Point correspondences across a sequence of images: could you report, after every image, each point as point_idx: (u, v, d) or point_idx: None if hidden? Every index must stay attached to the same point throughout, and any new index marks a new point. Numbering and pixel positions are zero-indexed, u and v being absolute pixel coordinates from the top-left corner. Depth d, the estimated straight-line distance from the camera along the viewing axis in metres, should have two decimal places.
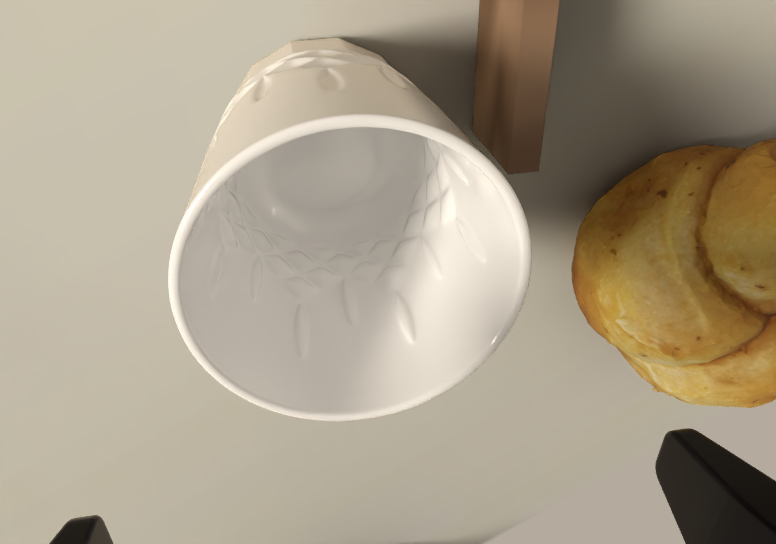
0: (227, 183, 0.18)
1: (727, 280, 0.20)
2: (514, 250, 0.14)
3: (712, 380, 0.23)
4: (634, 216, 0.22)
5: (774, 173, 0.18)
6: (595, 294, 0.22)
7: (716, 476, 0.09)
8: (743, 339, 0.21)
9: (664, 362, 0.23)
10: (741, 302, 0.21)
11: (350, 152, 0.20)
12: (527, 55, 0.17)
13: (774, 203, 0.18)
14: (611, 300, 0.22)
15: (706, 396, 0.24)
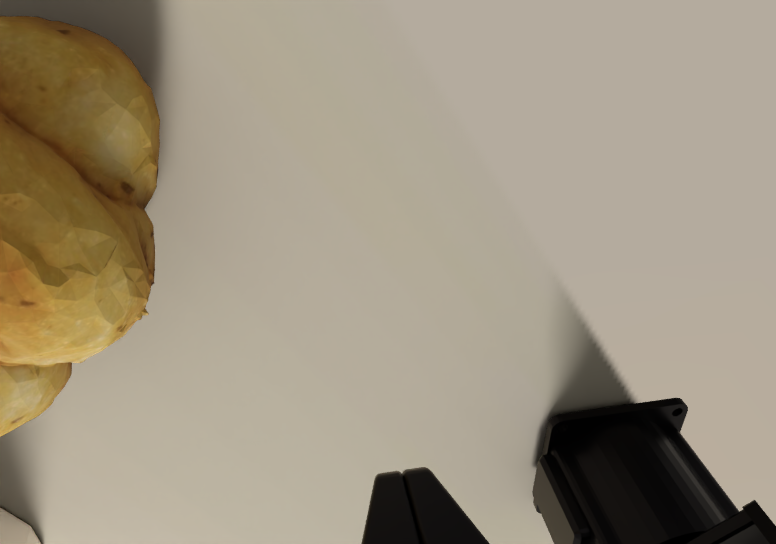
0: None
1: None
2: None
3: (16, 358, 0.14)
4: None
5: None
6: None
7: (421, 523, 0.08)
8: None
9: (15, 403, 0.15)
10: None
11: None
12: None
13: None
14: None
15: (59, 346, 0.14)
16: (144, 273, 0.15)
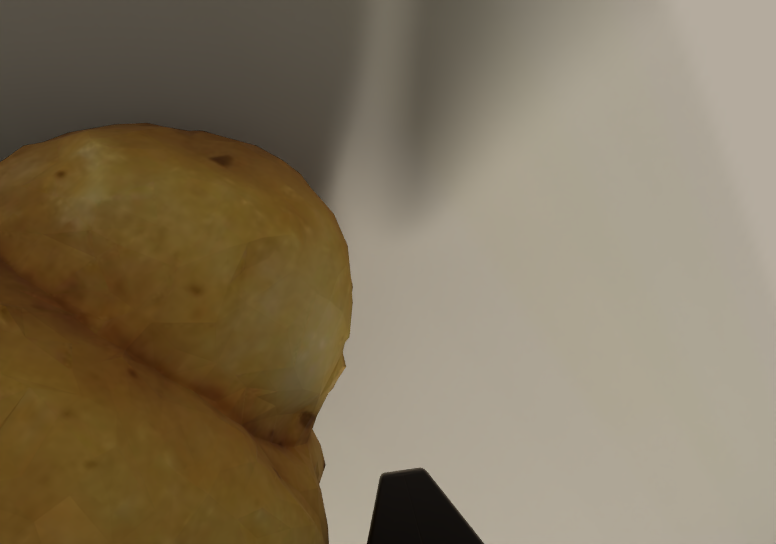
0: None
1: None
2: None
3: None
4: None
5: None
6: None
7: (416, 524, 0.08)
8: None
9: None
10: None
11: None
12: None
13: None
14: None
15: None
16: None
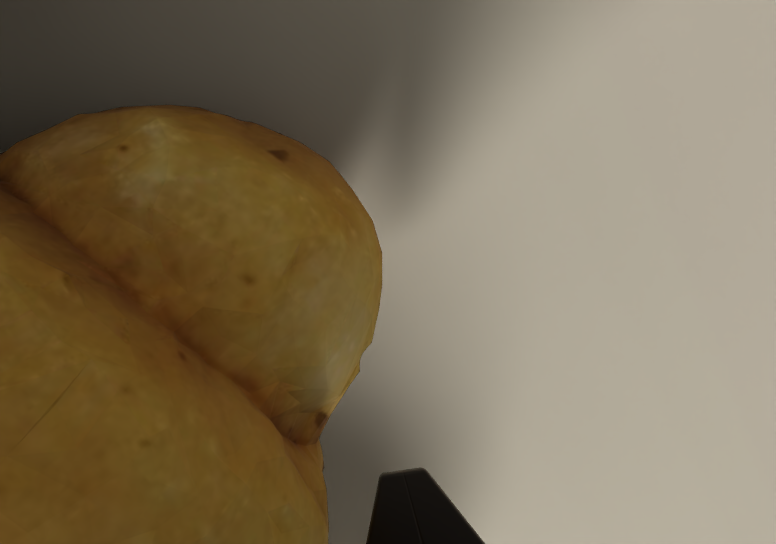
0: None
1: None
2: None
3: None
4: None
5: None
6: None
7: (417, 524, 0.08)
8: None
9: None
10: None
11: None
12: None
13: None
14: None
15: None
16: None
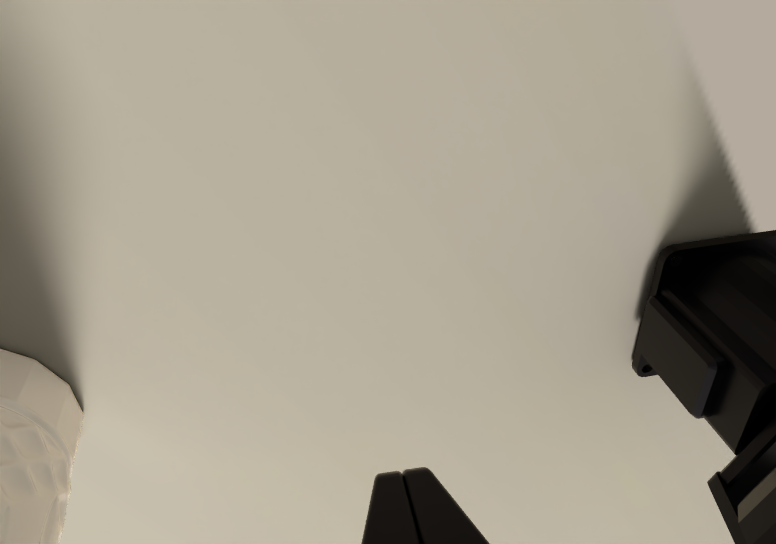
0: None
1: None
2: None
3: None
4: None
5: None
6: None
7: (421, 523, 0.08)
8: None
9: None
10: None
11: None
12: None
13: None
14: None
15: None
16: None
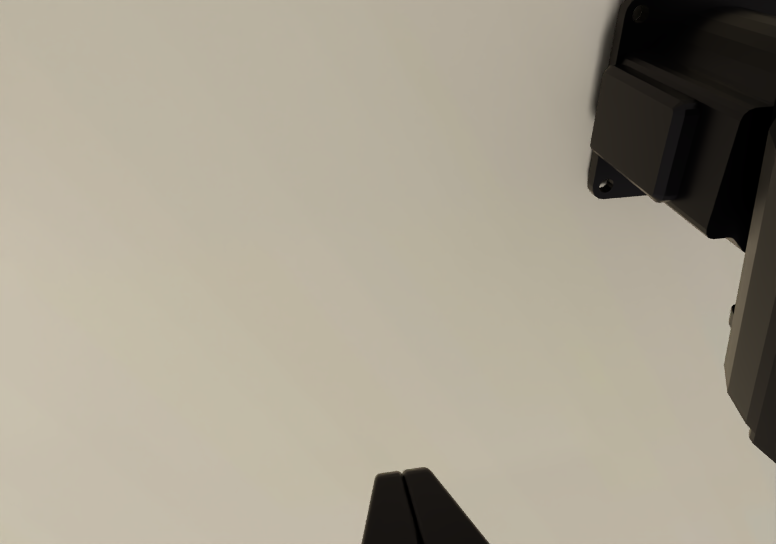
0: None
1: None
2: None
3: None
4: None
5: None
6: None
7: (421, 523, 0.08)
8: None
9: None
10: None
11: None
12: None
13: None
14: None
15: None
16: None
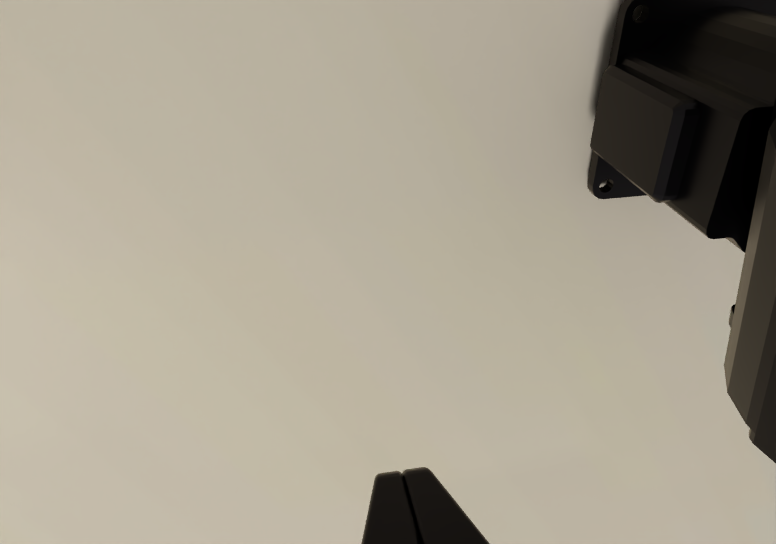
0: None
1: None
2: None
3: None
4: None
5: None
6: None
7: (421, 523, 0.08)
8: None
9: None
10: None
11: None
12: None
13: None
14: None
15: None
16: None
